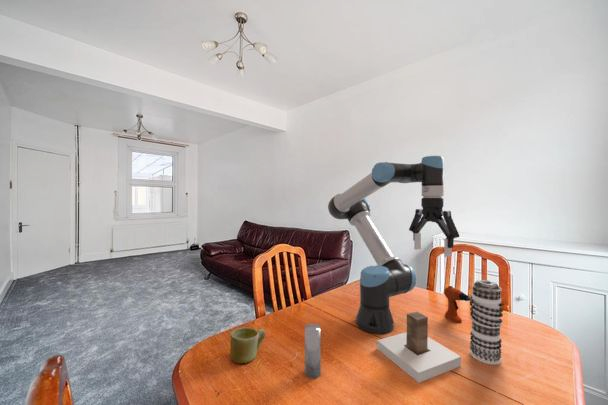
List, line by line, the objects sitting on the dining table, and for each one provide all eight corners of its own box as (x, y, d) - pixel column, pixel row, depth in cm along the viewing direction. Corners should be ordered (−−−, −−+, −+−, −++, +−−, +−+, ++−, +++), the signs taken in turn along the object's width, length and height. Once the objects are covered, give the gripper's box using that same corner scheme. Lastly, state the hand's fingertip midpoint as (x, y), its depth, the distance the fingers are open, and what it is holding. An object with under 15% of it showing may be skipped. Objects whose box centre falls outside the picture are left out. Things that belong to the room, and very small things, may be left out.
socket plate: (377, 348, 90) (377, 340, 90) (415, 337, 98) (415, 329, 98) (418, 382, 74) (418, 372, 74) (460, 366, 81) (461, 356, 81)
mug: (230, 367, 78) (234, 331, 82) (224, 359, 87) (228, 326, 90) (268, 364, 83) (271, 330, 87) (259, 357, 92) (262, 326, 95)
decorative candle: (485, 346, 91) (486, 276, 90) (510, 363, 82) (511, 286, 81) (462, 349, 90) (463, 278, 89) (485, 367, 81) (486, 288, 80)
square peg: (406, 354, 87) (406, 313, 87) (416, 351, 89) (416, 311, 88) (417, 362, 83) (417, 319, 82) (427, 359, 85) (427, 317, 84)
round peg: (302, 370, 80) (302, 325, 79) (316, 366, 81) (316, 322, 81) (308, 380, 75) (308, 333, 75) (323, 376, 77) (323, 329, 77)
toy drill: (474, 333, 97) (470, 294, 99) (442, 317, 115) (440, 284, 116) (485, 332, 98) (481, 293, 99) (452, 316, 116) (449, 283, 117)
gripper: (400, 197, 108) (400, 247, 108) (456, 197, 85) (455, 261, 86) (413, 196, 111) (413, 246, 111) (471, 197, 88) (470, 259, 89)
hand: (431, 252), depth 99 cm, fingers open, 13 cm apart
